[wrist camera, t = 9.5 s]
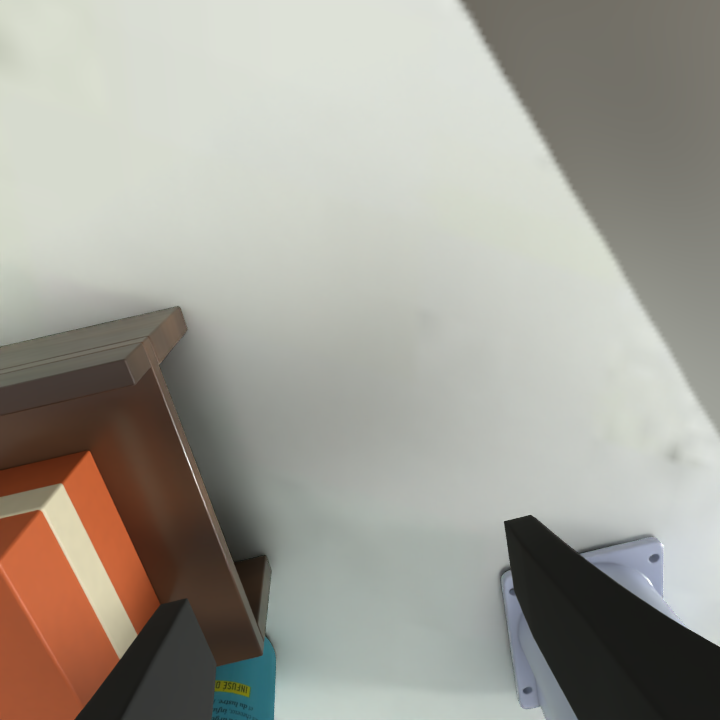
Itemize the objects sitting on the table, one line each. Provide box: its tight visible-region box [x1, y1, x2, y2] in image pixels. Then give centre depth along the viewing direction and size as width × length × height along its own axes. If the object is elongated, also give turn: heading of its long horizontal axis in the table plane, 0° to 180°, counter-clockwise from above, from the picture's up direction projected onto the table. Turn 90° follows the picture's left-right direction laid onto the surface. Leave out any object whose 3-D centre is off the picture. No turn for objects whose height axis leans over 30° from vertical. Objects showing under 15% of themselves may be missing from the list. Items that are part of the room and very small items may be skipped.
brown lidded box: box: [0, 306, 271, 667], centre depth 18 cm, size 13×9×6 cm
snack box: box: [0, 450, 161, 720], centre depth 15 cm, size 7×4×5 cm, turn 12°
